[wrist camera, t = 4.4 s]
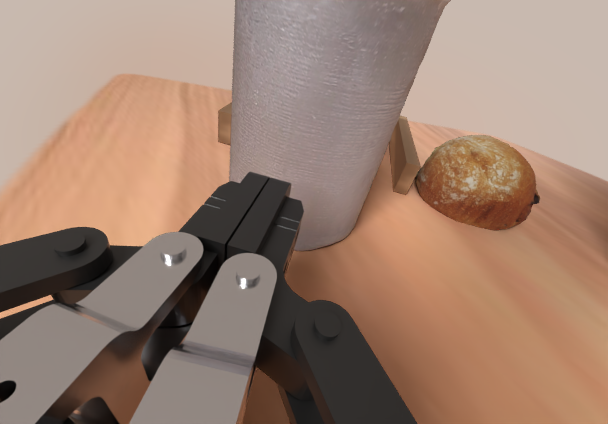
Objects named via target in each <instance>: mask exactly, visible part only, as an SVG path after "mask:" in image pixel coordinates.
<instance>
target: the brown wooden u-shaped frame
mask: <svg viewBox="0 0 608 424" xmlns="http://www.w3.org/2000/svg"><path fill="white" fill-rule="evenodd" d="M231 116H232V103H230V104H228V105H227V106H225V107H223V108H222V109H220V110H219V111H218V142H221V143H225V144H228V145H231ZM389 150H390V161H391V171H392V182H393V191H394V192H398V193H401V194H405V195H406V194H407V192H408V190H409V188H410V186H411V184H412V182H413V180H414V178H415V176H416V174H417V172H418V170H419V169H420V167H421V166H420V163H419V159H418V156H417V152H416V149H415V145H414V142H413V138H412V135H411V131H410V128H409V124H408V121H407V118H406V117H403V116H400V117H399V119H398V122H397V124H396V126H395V128H394V131H393V133H392V136H391V140H390V142H389Z"/></svg>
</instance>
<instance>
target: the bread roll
mask: <svg viewBox="0 0 608 424" xmlns="http://www.w3.org/2000/svg"><path fill="white" fill-rule="evenodd" d="M415 177H416V184H417V187H418V190H419V194H420V196H421V197H422V198H423V200H424V201H425V202H426V203H427V204H429V205H430V206H431V207H433V208H434V209H436V210H437V211H439V212H440V213H442V214H444V215H446V216H447V217H449V218H451V219H453V220H455V221H458V222H461V223H465V224H468V225H473V226H476V227H480V228H485V229H490V230H501V229H506V228H510V227H512V226H515V225H518V224H520V223H521V222H523V221H524V220H526V218H527V216H528V215H529V213H530V212H531V208H532V205H533V204H537V203H539V200H540V196H539V195H538V192H537V190H536V181H535V174H534V171H533V169H532V168H531V166H530V164H529V163H528V162H527V161H526V159H525V158H524V157H523V156H522V155H521V154H520V153H519V152H518V151H517V150H516V149H514V148H512V147H510V146H509V144H506V143H504V142H502V141H500V140H497V139H495V138H493V137H490V136H486V135H471V136H464V137H459V138H456V139H453V140H449V141H447V142H446V143H444V144H443V145H441V146H439V147H436V148H435V150H434V151H433V152H432V154H431V156H430V157H429V158H428V159H427V160H426V162H425V164H424V165H423V167H422V168H420V170H419V171H418V172H417V174H416V176H415Z"/></svg>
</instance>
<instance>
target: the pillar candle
mask: <svg viewBox="0 0 608 424" xmlns="http://www.w3.org/2000/svg"><path fill="white" fill-rule="evenodd" d="M450 1H451V0H235V24H234V52H233V84H232V116H231V147H230V176H229V182H230V181H234V182H237V183H240V182H241V181H242V180H243V179H244V177H245V176H246V175H247V174H248V172H254V173H257V174H261V175H264V176H268V177H270V178H275V179H279V180H282V181H286V182H289V183H291V191H290V196H289V197H290V198H293V199H297V200H300V201H302V205H303V209H304V213H303V217H302V221H301V225H300V229H299V234H298V238H297V242H296V245H295V248H294V250H296V251H307V250H313V249H316V248H320V247H324V246H328V245H331V244H333V243H336V242H338V241H341V240H343V239H344V238H346V237H347V236H348V235H349V234H350V232H351V231H352V229H353V228H354V226H355V224H356V221H357V218H358V216H359V214H360V211H361V209H362V207H363V204H364V202H365V199H366V197H367V195H368V193H369V190H370V188H371V185H372V182H373V179H374V178H375V176H376V173H377V171H378V168H379V165H380V163H381V161H382V159H383V157H384V154H385V152H386V149H387V146H388V143H389V142H390V140H391V136H392V133H393V131H394V128H395V126H396V124H397V122H398V119H399V117H400V113H401V110H402V108H403V106H404V104H405V101H406V98H407V96H408V94H409V91H410V89H411V87H412V85H413V82H414V79H415V76H416V74H417V71H418V68H419V66H420V64H421V62H422V60H423V58H424V56H425V53H426V51H427V49H428V46H429V43H430V41H431V38H432V35H433V33H434V30H435V28H436V25H437V23H438V20H439V18H440V16H441V14H442V12H443V9H444V7H445V6H446V5H447V4H448V2H450Z"/></svg>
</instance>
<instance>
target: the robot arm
mask: <svg viewBox="0 0 608 424" xmlns="http://www.w3.org/2000/svg"><path fill="white" fill-rule="evenodd" d="M290 191H291V183H289V182H286V181H282V180H279V179H275V178H270V177H268V176H264V175H261V174H257V173H254V172H248V174H247V175H246V176H245V177H244V179H243V180H242V181H241V182H240V183H237V182H234V181H230V182H228V183H226V184H224V185H222V186H220V187H218V188H217V190H216V191H215V192H214V193H213V194H212V195H211V197H209V198H208V200H207V201H206V202H205V204H204V205H202V206H201V207H200V208H199V209H198V211H197V212H196V213H195V214H194V215H193V216H192V217H191V218H190V219H189V220H188V222H187V223H186V224H185V225H184V226H183V227H182V228H181V229H180V230H179V232H170V233H165V234H162V235H159V236H157V237H155V238H153V239H152V240H151V241H149V242H148V243H147V244H146V245H145V246H111V245H109V242H108V239H107V236H106V235H105V234H104V233H103V232H102V231H100V230H98V229H95V228H90V227H75V228H69V229H65V230H61V231H57V232H53V233H49V234H45V235H41V236H37V237H33V238H29V239H24V240H20V241H16V242H12V243H8V244H4V245H0V312H3V311H5V310H8V309H11V308H14V307H17V306H20V305H23V304H25V303H28V302H31V301H34V300H37V299H40V298H43V297H45V296H48V295H51V296H52V297H53V299H54V300H51V301H49V302H46V303H43V304H40V305H37V306H35V307H32V308H29V309H26V310H24V311H21V312H18V313H15V314H12V315H10V316H7V317H4V318H1V319H0V424H242V422H243V418H244V414H245V410H246V406H247V402H248V398H249V394H250V390H251V387H252V383H253V379H254V375H255V371H256V367H258V368H259V369H260V370H262V371H263V372H264V373H265V374H266V375H268V376H269V377H270V378H271V379H273V380H274V381H275V382H276V383H277V384H278V388H279V392H280V394H281V397H282V400H283V403H284V406H285V409H286V411H287V414H288V417H289V420H290V423H291V424H417V422H416V421H415V419H414V417H413V416H412V414H411V413H410V411H409V409H408V408H407V406H406V405H405V403H404V401H403V400H402V398H401V396H400V395H399V393H398V392H397V390H396V388H395V387H394V385H393V384H392V382H391V380H390V379H389V377H388V375H387V374H386V372H385V371H384V369H383V367H382V366H381V364H380V363H379V361H378V359H377V358H376V356H375V355H374V353H373V351H372V350H371V348H370V346H369V345H368V343H367V342H366V340H365V338H364V337H363V335H362V334H361V332H360V330H359V329H358V327H357V325H356V324H355V322H354V321H353V319H352V318H351V316H350V315H349V313H348V312H347V311H346V310H345V309H343V308H342V307H341V306H339V305H337V304H335V303H333V302H330V301H326V300H316V301H312V302H307V301H306V300H304V299H303V298H301V297H300V296H298V295H297V294H296V293H294V292H293V291H292V290H291V289H290V287H289V286H288V285H287V283H286V281H285V278H284V276H285V273H286V271H287V268H288V265H289V262H290V259H291V256H292V253H293V250H294V248H295V245H296V242H297V238H298V234H299V229H300V225H301V221H302V217H303V213H304V209H303V205H302V201H300V200H297V199H293V198H290V197H289V196H290Z"/></svg>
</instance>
